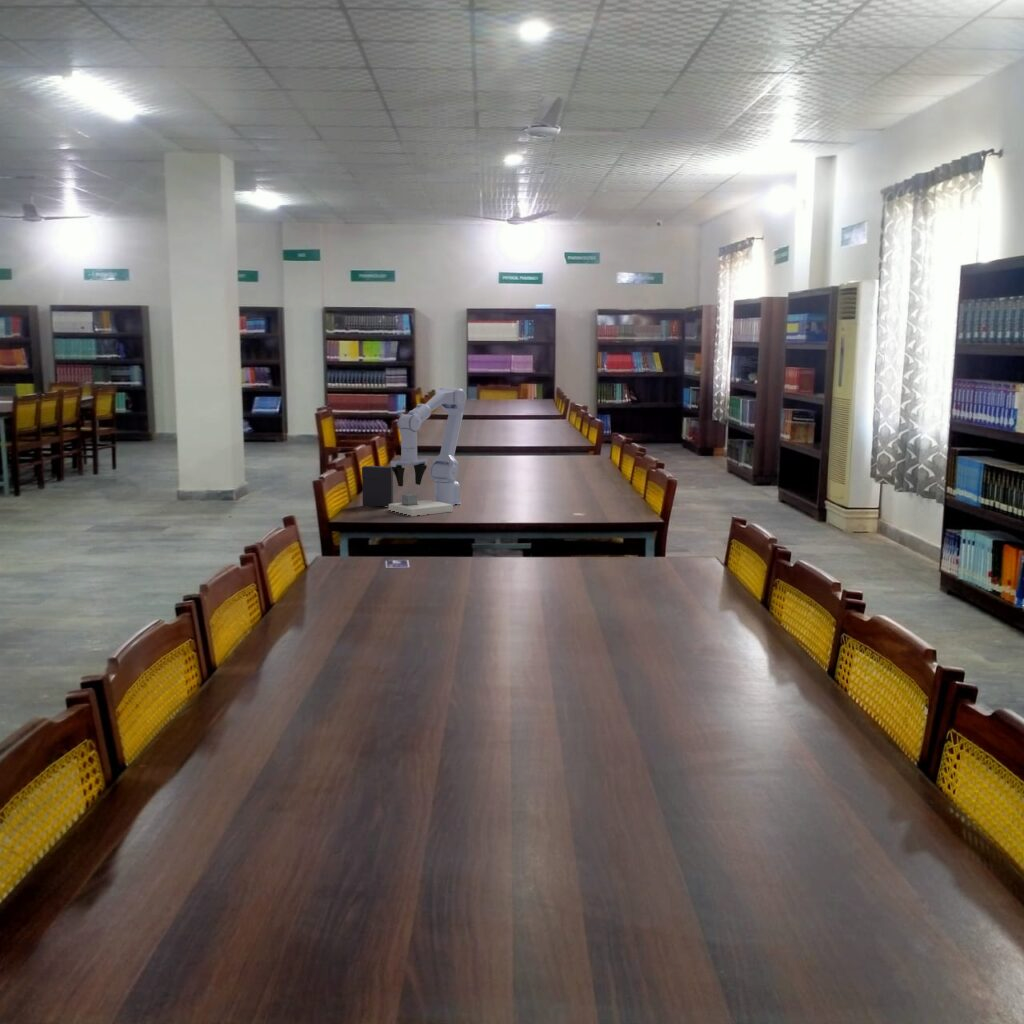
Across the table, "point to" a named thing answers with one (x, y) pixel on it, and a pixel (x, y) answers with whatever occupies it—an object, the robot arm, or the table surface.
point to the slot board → (422, 508)
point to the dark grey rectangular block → (377, 485)
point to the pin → (409, 499)
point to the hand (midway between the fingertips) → (409, 485)
